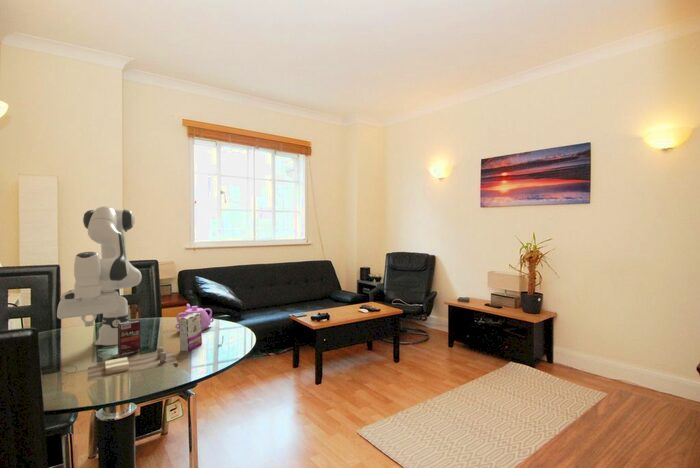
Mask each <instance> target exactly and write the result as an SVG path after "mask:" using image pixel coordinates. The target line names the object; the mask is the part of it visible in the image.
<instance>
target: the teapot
mask: <svg viewBox="0 0 700 468" xmlns="http://www.w3.org/2000/svg"><path fill="white" fill-rule="evenodd" d="M207 311H209V314H208V312H207ZM192 313H201V331H204V330H207V329H208V328H209V326H210V325H211V324H212V323H213V322H214V318H213V317H212V315H213V310H212V309H211V308H202V307H199V306H198V305H193V306H191V305H190V303H186V309H185V311H184V312H179V313H178V314H177V315H176V321H177V323H176V324H175V326H174V328H175V329H176V330H180V329H179V318H182V317H184V316H187V315H189V314H192ZM180 316H181V317H180Z"/></svg>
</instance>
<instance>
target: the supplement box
mask: <svg viewBox="0 0 700 468" xmlns="http://www.w3.org/2000/svg"><path fill="white" fill-rule="evenodd" d="M128 321H129V320H128ZM137 352H141V322H140V320H138V319H136V320H130V321H129V322H123V323H118V344H117V355H119V356H124V355H128V354H133V353H137Z"/></svg>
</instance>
